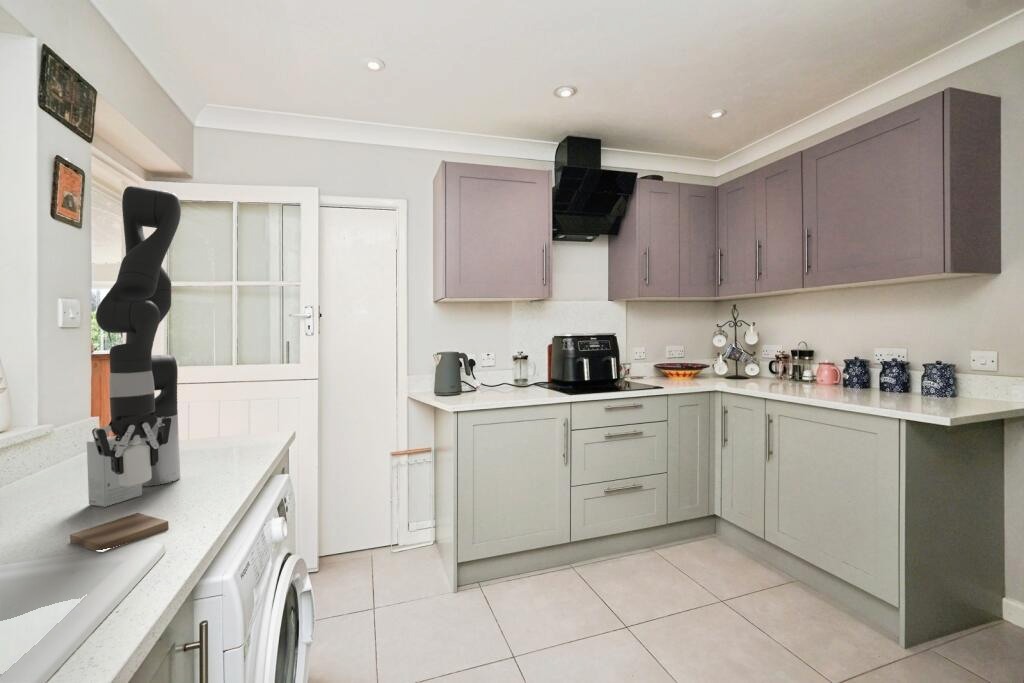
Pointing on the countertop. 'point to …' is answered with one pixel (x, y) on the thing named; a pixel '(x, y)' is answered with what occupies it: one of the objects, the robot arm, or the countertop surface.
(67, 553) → the countertop surface
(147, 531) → the walnut board
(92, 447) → the skincare box
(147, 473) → the eye dropper bottle
